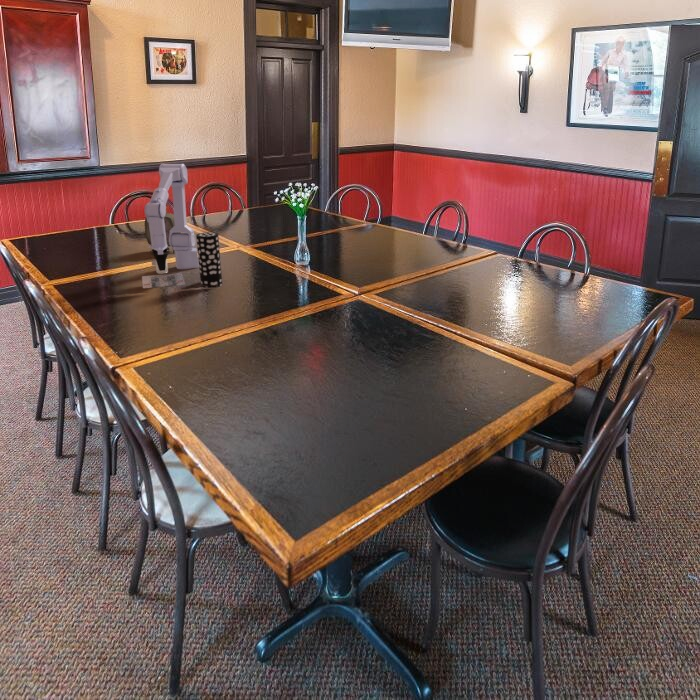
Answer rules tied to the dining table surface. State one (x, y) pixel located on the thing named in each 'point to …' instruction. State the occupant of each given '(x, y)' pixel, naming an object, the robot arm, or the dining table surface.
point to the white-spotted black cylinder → (209, 259)
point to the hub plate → (163, 280)
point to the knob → (158, 268)
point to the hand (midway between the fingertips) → (162, 268)
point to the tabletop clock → (169, 225)
